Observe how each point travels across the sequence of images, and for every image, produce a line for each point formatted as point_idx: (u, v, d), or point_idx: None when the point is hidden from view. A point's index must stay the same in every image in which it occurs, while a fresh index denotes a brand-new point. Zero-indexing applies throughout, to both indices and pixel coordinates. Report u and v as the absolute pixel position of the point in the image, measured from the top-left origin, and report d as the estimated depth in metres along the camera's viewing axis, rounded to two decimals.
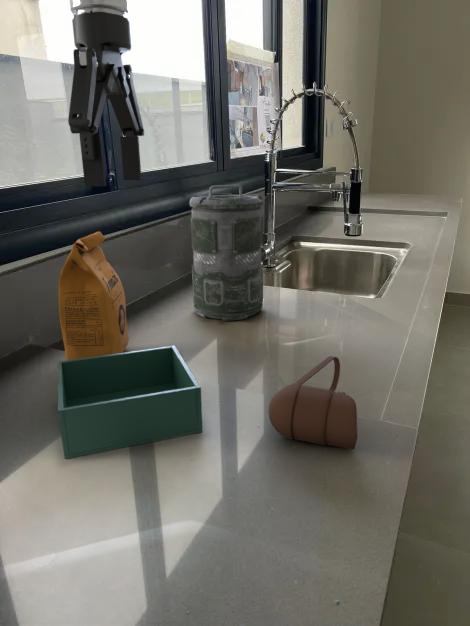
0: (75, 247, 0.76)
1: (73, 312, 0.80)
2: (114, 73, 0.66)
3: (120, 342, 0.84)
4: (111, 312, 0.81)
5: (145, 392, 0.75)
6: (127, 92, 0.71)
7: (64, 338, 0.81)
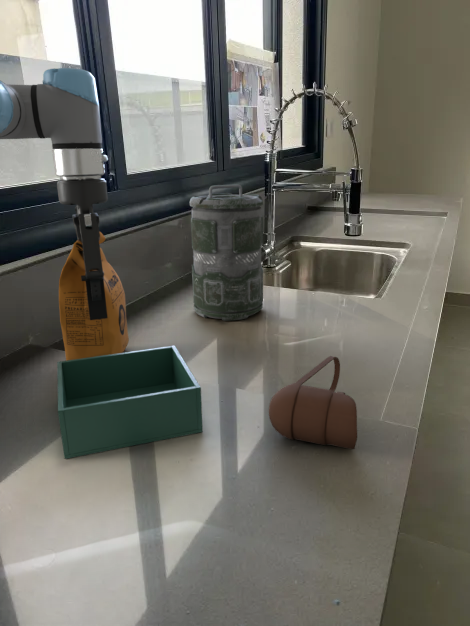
0: (75, 247, 0.76)
1: (73, 311, 0.80)
2: None
3: (120, 342, 0.84)
4: (111, 312, 0.81)
5: (145, 392, 0.75)
6: None
7: (64, 338, 0.81)
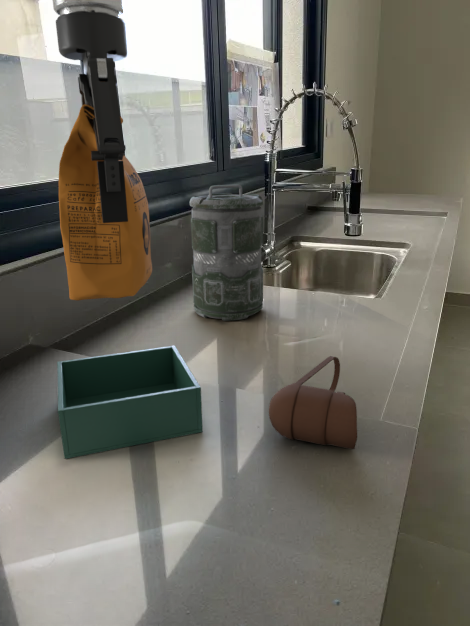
0: (83, 112, 0.52)
1: (79, 213, 0.56)
2: (116, 86, 0.56)
3: (144, 263, 0.61)
4: (133, 216, 0.57)
5: (145, 392, 0.75)
6: None
7: (66, 252, 0.57)
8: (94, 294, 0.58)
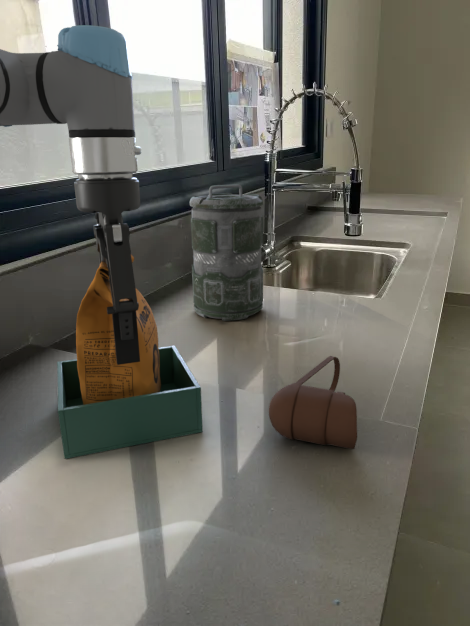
0: (99, 274, 0.57)
1: (94, 357, 0.61)
2: (129, 237, 0.60)
3: None
4: (145, 357, 0.62)
5: None
6: None
7: (83, 391, 0.62)
8: None
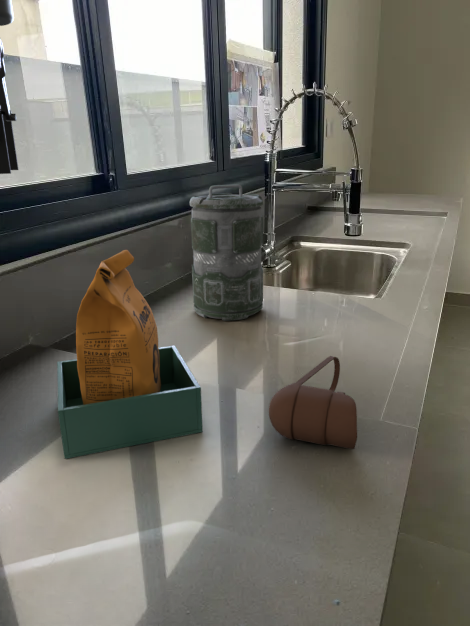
0: (99, 274, 0.57)
1: (94, 357, 0.61)
2: (0, 47, 0.59)
3: None
4: (145, 357, 0.62)
5: None
6: (4, 70, 0.64)
7: (83, 391, 0.62)
8: None
